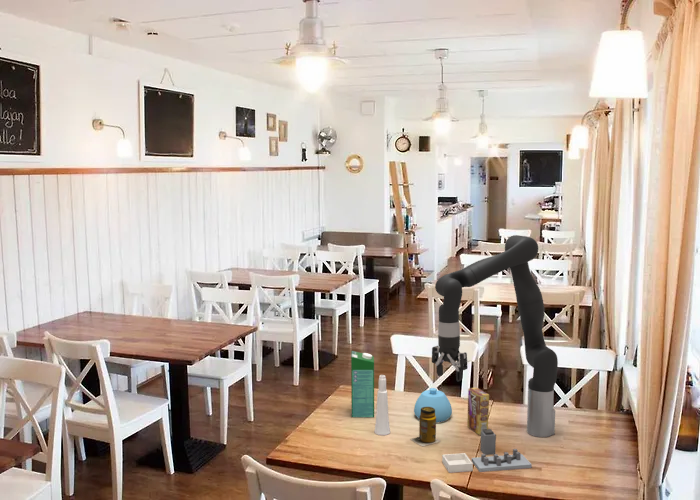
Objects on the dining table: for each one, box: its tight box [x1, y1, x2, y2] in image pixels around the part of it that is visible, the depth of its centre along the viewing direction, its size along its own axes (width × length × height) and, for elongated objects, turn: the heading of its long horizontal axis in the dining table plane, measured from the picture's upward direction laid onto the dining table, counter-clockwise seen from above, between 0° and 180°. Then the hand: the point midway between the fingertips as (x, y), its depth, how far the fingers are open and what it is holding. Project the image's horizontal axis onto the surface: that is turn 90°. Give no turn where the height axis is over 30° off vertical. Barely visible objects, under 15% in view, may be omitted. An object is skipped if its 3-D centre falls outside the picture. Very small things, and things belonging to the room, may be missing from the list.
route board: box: [471, 448, 532, 473], centre depth 224 cm, size 18×8×4 cm, turn 99°
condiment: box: [410, 407, 441, 447], centre depth 243 cm, size 7×8×12 cm
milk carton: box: [350, 350, 375, 418], centre depth 269 cm, size 9×9×25 cm
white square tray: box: [441, 452, 474, 474], centre depth 223 cm, size 8×8×3 cm
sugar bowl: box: [413, 387, 453, 424], centre depth 266 cm, size 15×15×12 cm
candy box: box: [466, 387, 490, 436], centre depth 252 cm, size 9×4×15 cm, turn 20°
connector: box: [479, 428, 497, 456], centre depth 234 cm, size 4×4×8 cm
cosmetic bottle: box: [374, 374, 391, 436], centre depth 251 cm, size 6×6×22 cm
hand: (449, 378), depth 237 cm, fingers open, 8 cm apart
